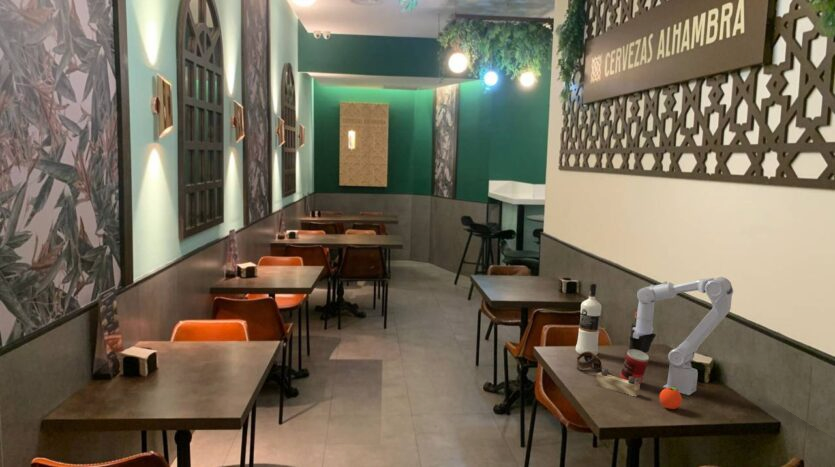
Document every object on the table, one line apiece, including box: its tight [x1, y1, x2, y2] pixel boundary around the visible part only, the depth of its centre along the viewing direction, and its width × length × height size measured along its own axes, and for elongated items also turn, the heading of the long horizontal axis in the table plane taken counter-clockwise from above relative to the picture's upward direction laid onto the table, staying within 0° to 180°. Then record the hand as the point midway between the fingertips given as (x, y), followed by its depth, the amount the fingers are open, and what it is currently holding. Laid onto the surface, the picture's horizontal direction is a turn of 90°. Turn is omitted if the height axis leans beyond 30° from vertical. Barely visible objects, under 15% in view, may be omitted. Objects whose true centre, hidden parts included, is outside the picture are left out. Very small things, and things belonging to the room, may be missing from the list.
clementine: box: [658, 387, 683, 410], centre depth 208 cm, size 8×7×7 cm
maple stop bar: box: [594, 368, 641, 398], centre depth 222 cm, size 15×3×6 cm, turn 48°
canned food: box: [619, 349, 650, 385], centre depth 229 cm, size 8×8×11 cm
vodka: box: [575, 282, 602, 356], centre depth 262 cm, size 9×9×30 cm
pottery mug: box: [576, 351, 603, 373], centre depth 243 cm, size 12×10×8 cm
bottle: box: [628, 311, 647, 354], centre depth 257 cm, size 7×7×20 cm
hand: (641, 353), depth 236 cm, fingers open, 7 cm apart
